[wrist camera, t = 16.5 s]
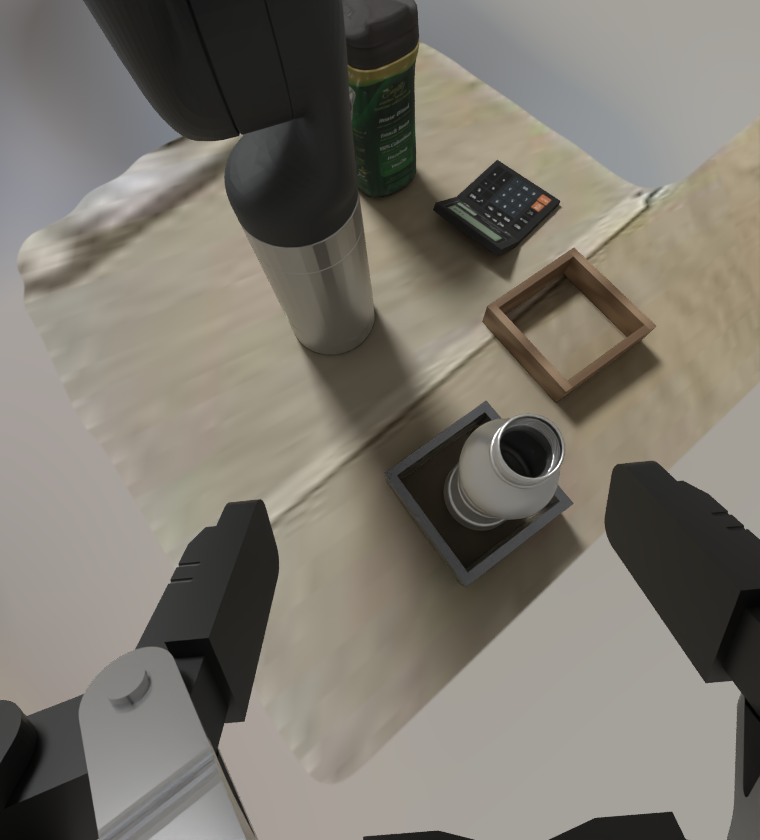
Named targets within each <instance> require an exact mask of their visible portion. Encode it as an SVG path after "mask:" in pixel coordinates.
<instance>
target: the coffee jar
mask: <svg viewBox="0 0 760 840" xmlns="http://www.w3.org/2000/svg"><path fill="white" fill-rule="evenodd" d="M342 3H343V13H344V24H345V34H346V46H347V61H348V78H349V95H350V110H351V123H352V134H353V143H354V152H355V161H356V174H357V181H358V188H359V189H360V190H362V191H363V192H364V193H365V194H367V195H369V196H372V197H382V196H386V195H390V194H392V193H395V192H397V191H399V190H400V189H402V188H404V187H405V186H406V185H407V184H408V183H410V182H411V181H412V179H413V178H414V176H415V173H416V139H415V94H414V76H415V62H416V57H417V53H418V48H419V29H418V12H417V5H416V3H415V1H414V0H342Z"/></svg>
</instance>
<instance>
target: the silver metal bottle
mask: <svg viewBox="0 0 760 840" xmlns="http://www.w3.org/2000/svg"><path fill="white" fill-rule="evenodd" d="M564 455H565V444H564V439H563V437H562V434H561V432H560V431H559V429H558V428H557V427H556V426H555V425H554V424H553V423H552V422H551V421H550V420H548V419H547V418H545V417H543V416H540V415H537V414H529V413H528V414H521V415H518V416H515V417H513V418H504V419H496V420H493V421H489V422H487V423H485V424H483V425H481V426H479V427H478V428H477V429H476V430H475V431H474V432H472V434H471V435H470V436H469V437H468V439H467V440H466V442H465V444H464V446H463V448H462V451H461V455H460V459H459V462H458V463H457V464H456V465H455V466H454V467H453V468H452V469H451V470H450V472H449V473H448V475H447V477H446V480H445V484H444V492H443V493H444V500H445V504H446V507H447V509H448V511H449V513H450V514H451V515H452V517H453V518H454V519H455V520H456V521H457V522H458V523H460V524H461V525H463V526H465V527H466V528H469V529H472V530H478V531H485V530H490V529H494V528H496V527H498V526H500V525H501V524H503V523H504V522H505V521H506V520H513V519H522V518H526V517H529V516H532V515H534V514H535V513H537V512H539V511H540V510H542V509H543V508H544V507H545V506H546V505H547V504H548V503H549V501H550V500H551V499H552V497H553V496H554V493H555V491H556V489H557V486H558V481H559V476H560V466H561V464H562V462H563V459H564Z"/></svg>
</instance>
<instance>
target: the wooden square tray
mask: <svg viewBox="0 0 760 840" xmlns="http://www.w3.org/2000/svg"><path fill="white" fill-rule="evenodd" d="M563 274H564V275H565V276H566V277H567V278H568V279H569V280H570V281H571V282H572V283H573V284H574V285H575V286H576V287H577V288H578V289H579V290H580V291H581V292H582V293H583V294H585V295H586V296H587V297H588V298H589V299H590V300H591V301H592V302H593V303H594V304H595V305H596V306H597V307H598V308H599V309H600V310H601V311H602V312H603V313H604V314H605V315H606V316H607V317H608V318H609V319H610V320H611V321H612V322H613V323H614V324H615V325H616V326H617V327H618V328H619V329H620V330H621V331H622V332H623V333H624V334H625V335H626V336H627V338H626V339H624V340H623V341H621V342H620V343H619V344H617V345H616V346H615V347H613V348H612V349H610V350H609V351H608V352H606V353H605V354H604V355H602V356H601V357H599V358H598V359H597V360H595V361H594V362H593V363H591V364H590V365H588V366H587V367H586V368H584V369H583V370H582V371H580V372H579V373H577V374H576V375H575V376H573V377H572V378H571V379H569V380H568V381H566V380H565V379H564V378H563V376H562V375H561V374H560V373H559V372H558V371H557V370H556V369H555V368H554V367H553V366H552V365H551V364H550V362H549V361H548V360H547V359H546V358H545V357H544V356H543V355H542V354H541V353H540V352H539V351H538V350H537V348H536V347H535V346H534V345H533V344H532V343H531V342H530V341H529V340H528V339H527V338H526V337H525V336H524V334H523V333H522V332H521V331H520V330H519V329H518V328H517V327H516V326H515V325H514V324H513V323H512V322H511V320H510V319H509V318H508V317H507V316H506V315H505V314H506V313H508V312H509V311H511V310H512V309H514V308H515V307H517V306H518V305H520V304H521V303H522V302H524V301H525V300H527V299H528V298H530V297H531V296H533V295H534V294H536V293H537V292H538V291H540V290H541V289H543V288H544V287H546V286H547V285H549V284H550V283H552V282H553V281H555V280H556V279H557V278H559V277H560V276H562V275H563ZM483 323H484V324H485V325H486V326H487V327H488V328H489V329H490V330H491V331H492V332H493V334H494V335H495V336H496V337H497V338H498V339H499V340H500V341H501V342H502V344H503V345H504V346H505V347H506V348H507V349H508V350H509V351H510V352H511V353H512V355H513V356H514V357H515V358H516V359H517V360H518V361H519V362H520V363H521V365H522V366H523V367H524V368H525V369H526V370H527V371H528V372H529V373H530V374H531V376H532V377H533V378H534V379H535V380H536V381H537V382H538V383H539V384H540V386H541V387H542V388H543V389H544V390H545V391H546V392H547V393H548V394H549V396H550V397H551V398H552V399H553V400H554V401H555V402H556V403H557V402H558V401H559V400H561V399H562V398H563V397H565V396H566V395H568V394H569V393H570V392H572V391H573V390H574V389H576V388H577V387H578V386H580V385H581V384H583V383H584V382H585V381H587V380H588V379H589V378H591V377H592V376H593V375H595V374H596V373H598V372H599V371H600V370H602V369H603V368H604V367H606V366H607V365H608V364H610V363H611V362H613V361H614V360H615V359H617V358H618V357H619V356H621V355H622V354H623V353H625V352H626V351H628V350H629V349H630V348H632V347H633V346H634V345H636V344H637V343H639V342H640V341H641V340H642V339H643V338H644V337H646V336H647V335H648V334H649V333H650V332H651V331H652V330H653V329H654V328H655V327H656V325H655V324H654V323H653V322H652V321H651V320H650V319H649V318H648V317H647V316H646V315H644V314H643V313H642V312H641V311H640V310H639V309H638V308H637V307H636V306H635V305H634V304H633V303H632V302H631V301H630V300H629V299H628V298H627V297H626V296H624V295H623V294H622V293H621V292H620V291H619V290H618V289H617V288H616V287H615V286H614V285H613V284H612V283H611V282H610V281H609V280H608V279H607V278H606V277H604V276H603V275H602V274H601V273H600V272H599V271H598V270H597V269H596V268H595V267H594V266H593V265H592V264H591V263H590V262H589V261H588V260H587V259H586V258H584V257H583V256H582V255H581V254H580V253H579V252H578V251H577V250H576V249H575V248H572V249H571V250H570V251H568V252H567V253H565V254H564V255H562V256H561V257H559V258H558V259H556V260H555V261H553V262H552V263H550V264H549V265H547V266H546V267H544V268H543V269H542V270H540V271H539V272H537V273H536V274H534V275H533V276H531V277H530V278H528V279H527V280H525V281H524V282H522V283H521V284H519V285H518V286H516V287H515V288H514V289H512V290H511V291H509V292H508V293H506V294H505V295H503V296H502V297H500V298H499V299H497V300H496V301H494V302H493V303H491V304H490V305H488V306H487V309H486V312H485V315H484V318H483Z"/></svg>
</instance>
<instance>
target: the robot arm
mask: <svg viewBox="0 0 760 840" xmlns="http://www.w3.org/2000/svg"><path fill="white" fill-rule="evenodd" d="M83 1H84V2H85V4H86V6H87V7H88V8H89V10H90V12H91V13H92V15H93V16H94V18H95V20H96V21H97V23H98V25H99V26H100V28H101V29H102V31H103V33H104V34H105V36H106V37H107V39H108V41H109V42H110V44H111V45H112V47H113V48H114V50H115V52H116V53H117V55H118V57H119V58H120V60H121V61H122V63H123V64H124V66H125V67H126V69H127V70H128V72H129V73H130V75H131V76H132V78H133V79H134V81H135V82H136V84H137V85H138V87H139V89H140V90H141V91H142V93H143V95H144V96H145V97H146V99H147V100H148V101H149V103H150V104H151V105H152V107H153V108H154V109H155V110H156V112H157V113H158V114H159V115H160V116H161V117H162V118H163V120H165V121H166V122H167V123H168V124H169V125H170V126H171V127H172V128H173V129H174V130H175V131H177V132H178V133H179V134H181V135H182V136H184V137H186V138H188V139H191V140H195V141H218V140H225V139H229V138H233V137H237V136H239V134H240V133H241V134H242V135H244V134H245V135H244V136H243V137H242V138H241V139H240V140H239V141H238V143H237V144H236V145H235V147H234V148H233V150H232V152H231V154H230V156H229V158H228V161H227V164H226V168H225V176H224V178H225V188H226V193H227V196H228V199H229V201H230V204H231V206H232V208H233V210H234V212H235V214H236V216H237V218H238V220H239V222H240V224H241V226H242V228H243V230H244V232H245V234H246V236H247V238H248V240H249V242H250V244H251V246H252V248H253V250H254V252H255V254H256V256H257V258H258V260H259V262H260V264H261V266H262V268H263V270H264V272H265V274H266V276H267V278H268V280H269V282H270V284H271V286H272V288H273V290H274V292H275V294H276V296H277V298H278V301H279V303H280V305H281V307H282V309H283V311H284V313H285V315H286V317H287V319H288V321H289V323H290V325H291V327H292V329H293V331H294V333H295V335H296V337H297V338H298V340H299V341H300V342H301V343H302V344H303V345H304V346H305V347H306V348H308V349H310V350H312V351H314V352H317V353H321V354H328V355H333V354H341V353H344V352H347V351H350V350H352V349H354V348H355V347H357V346H358V345H359V344H361V343H362V342H363V341H364V340H365V339H366V337H367V336H368V335H369V333H370V331H371V329H372V327H373V323H374V304H373V297H372V288H371V280H370V273H369V265H368V257H367V250H366V242H365V234H364V227H363V219H362V213H361V205H360V197H359V190H358V181H357V174H356V161H355V152H354V143H353V134H352V123H351V110H350V95H349V78H348V61H347V46H346V34H345V24H344V13H343V3H342V0H83ZM605 529H606V534H607V537H608V539H609V542H610V543H611V546H612V547H613V549H614V550H615V551H616V553H617V554H618V556H619V557H620V559H621V560H622V562H623V563H624V564H625V566H626V568H627V569H628V571H629V572H630V573H631V575H632V576H633V578H634V579H635V581H636V582H637V584H638V585H639V587H640V588H641V589H642V591H643V592H644V594H645V595H646V597H647V598H648V600H649V601H650V602H651V604H652V605H653V607H654V608H655V610H656V611H657V613H658V614H659V615H660V617H661V619H662V620H663V622H664V623H665V624H666V626H667V627H668V629H669V630H670V632H671V633H672V635H673V636H674V637H675V639H676V640H677V642H678V643H679V645H680V646H681V648H682V649H683V651H684V652H685V654H686V655H687V657H688V658H689V659H690V661H691V662H692V664H693V665H694V667H695V668H696V670H697V671H698V673H699V674H700V676H701V677H702V678H703V680H704V681H705V683H713V682H724V681H733V682H734V683H735V685H736V686H737V687H738V689H739V690H740V691H741V695H740V697H739V700H738V704H737V729H736V731H737V732H736V761H735V792H734V793H735V794H734V810H733V816H732V821H731V826H730V829H729V833H728V837H727V840H760V539H758V538H757V537H756V536H755V535H754V534H753V533H752V532H750V531H749V530H748V529H746V530H745V529H744V525H743V524H741V523H740V522H739V521H738V520H737V519H736V518H735V517H734V516H733V515H729V514H728V511H727V510H726V509H725V508H724V507H723V506H721V505H720V504H719V503H718V502H717V501H716V500H714V498H712V497H711V496H710V495H709V494H707V493H705V492H704V491H702V490H699V489H698V488H696V487H694V486H692V485H690V484H688V483H686V482H684V481H676V480H675V479H674V478H673V477H672V476H671V475H670V474H669V473H668V472H667V471H666V470H665V469H664V468H663V467H662V466H661V465H659V464H658V463H657V462H655V461H645V462H635V463H625V464H617V465H616V466H615V467H614V468H613V471H612V476H611V482H610V488H609V494H608V500H607V507H606V513H605ZM278 573H279V556H278V550H277V546H276V542H275V539H274V535H273V531H272V528H271V524H270V521H269V517H268V514H267V510H266V507H265V504H264V502H263V501H262V500H261V499H260V500H250V501H240V502H230V503H227V505H226V506H225V508H224V510H223V512H222V515H221V517H220V519H219V521H218V523H217V526H213V527H205V528H204V529H203V530H202V531H201V532H200V533H199V534H198V535H197V536H196V537H195V538H194V539H193V540H192V541H191V542H190V543H189V544H188V546H187V548H186V550H185V552H184V554H183V556H182V558H181V560H180V562H179V567H177V568H176V570H175V572H174V574H173V576H172V578H171V583H170V584H168V586H167V588H166V590H165V592H164V593H163V596H162V597H161V600H160V602H159V603H158V605H157V608H156V609H155V612H154V613H153V615H152V617H151V619H150V621H149V623H148V625H147V627H146V629H145V631H144V633H143V635H142V637H141V639H140V641H139V643H138V645H137V647H136V649H135V650H133V651H131V652H128V653H126V654H125V655H122V656H121V657H119V658H117V659H116V660H115V661H113V662H111V663H110V664H109V665H108V666H106V667H105V668H104V669H103V670H102V671H101V672H100V673H99V674H98V675H97V676H96V678H95V679H94V680H93V681H92V682H91V684H90V685H89V687H88V688H87V690H86V692H85V693H84V694H83V695H80V696H78V697H75V698H73V699H71V700H68V701H65V702H62V703H60V704H57V705H55V706H52V707H49V708H47V709H44V710H42V711H39V712H37V713H34V714H31V715H29V716H26V715H25V714H24V713H23V712H22V711H21V709H20V708H19V707H18V706H17V705H16V704H15V703H13V702H11V701H6V700H0V840H97V839H99V840H258V838H257V836H256V834H255V831H254V829H253V827H252V824H251V822H250V820H249V818H248V815H247V813H246V811H245V808H244V806H243V803H242V801H241V799H240V796H239V794H238V792H237V790H236V787H235V785H234V783H233V780H232V778H231V776H230V773H229V771H228V769H227V766H226V764H225V762H224V759H223V757H222V755H221V753H220V750H219V748H218V744H219V741H220V737H221V733H222V730H223V726H224V723H232V722H244V721H245V717H246V712H247V708H248V703H249V699H250V695H251V690H252V687H253V682H254V678H255V674H256V669H257V665H258V661H259V656H260V652H261V648H262V643H263V639H264V635H265V630H266V626H267V622H268V617H269V613H270V609H271V605H272V600H273V596H274V592H275V587H276V583H277V579H278ZM363 840H473V839H469V838H465V837H461V836H457V835H454V834H449V833H446V832H441V831H427V832H415V833H402V834H390V835H377V836H366V837H363ZM549 840H686V839H685V837H684V835H683V833H682V831H681V829H680V827H679V825H678V823H677V821H676V819H675V817H674V815H673V813H672V812H664V813H652V814H638V815H626V816H614V817H601V818H594V819H592V820H590V821H588V822H586V823H583V824H582V825H579V826H577V827H575V828H573V829H571V830H569V831H566V832H564V833H562V834H560V835H558V836H556V837H554V838H552V839H549Z"/></svg>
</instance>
